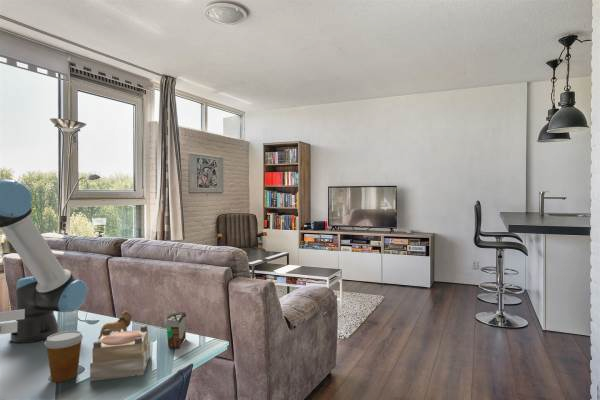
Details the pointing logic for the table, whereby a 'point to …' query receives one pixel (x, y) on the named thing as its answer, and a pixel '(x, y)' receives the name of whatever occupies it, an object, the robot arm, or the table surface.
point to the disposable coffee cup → (64, 354)
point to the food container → (176, 329)
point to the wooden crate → (120, 354)
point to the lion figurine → (118, 324)
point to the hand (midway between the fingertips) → (21, 319)
